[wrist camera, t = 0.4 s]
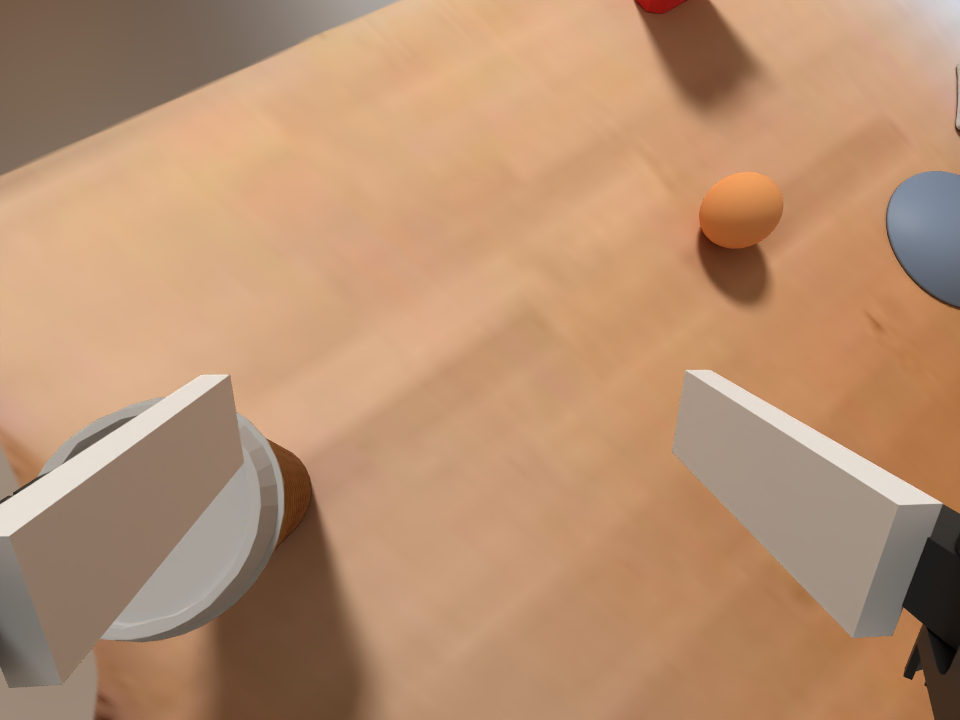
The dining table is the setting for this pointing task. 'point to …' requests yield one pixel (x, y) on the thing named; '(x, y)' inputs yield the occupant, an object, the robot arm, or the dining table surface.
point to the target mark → (928, 232)
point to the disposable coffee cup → (210, 534)
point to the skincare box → (959, 109)
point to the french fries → (659, 5)
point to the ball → (741, 210)
